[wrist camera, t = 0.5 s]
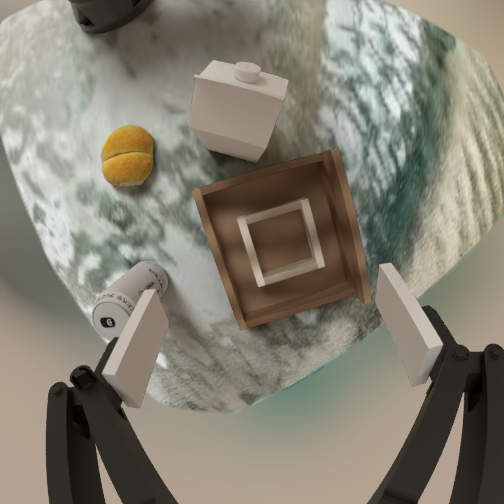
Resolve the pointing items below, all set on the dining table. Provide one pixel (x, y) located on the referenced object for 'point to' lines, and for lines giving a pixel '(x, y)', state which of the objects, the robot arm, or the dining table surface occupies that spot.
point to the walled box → (285, 238)
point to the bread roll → (127, 156)
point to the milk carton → (236, 108)
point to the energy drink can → (126, 297)
